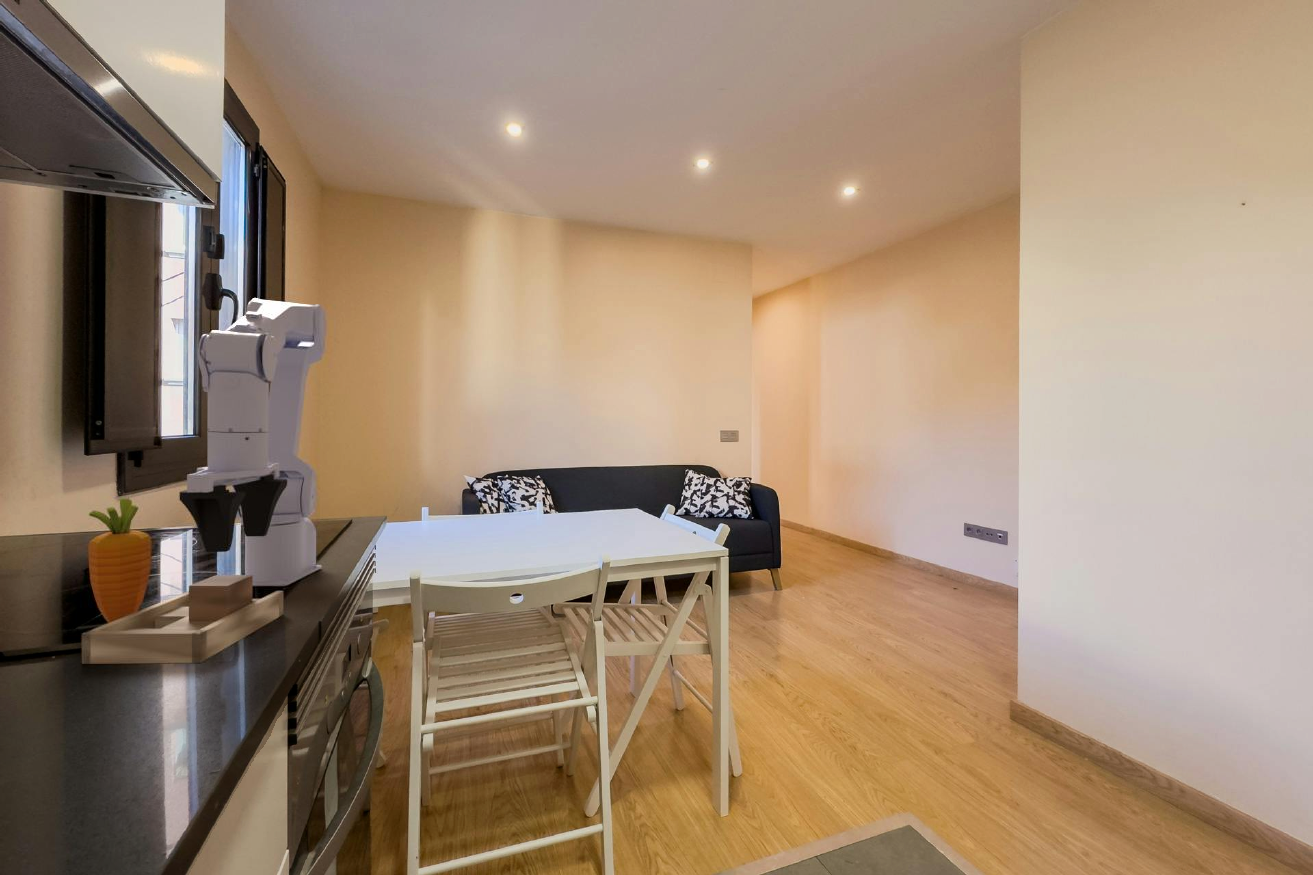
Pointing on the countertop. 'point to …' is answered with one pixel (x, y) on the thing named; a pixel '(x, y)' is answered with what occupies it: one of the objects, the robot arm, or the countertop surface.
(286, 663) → the countertop surface
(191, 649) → the tray box
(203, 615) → the block
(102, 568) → the carrot
